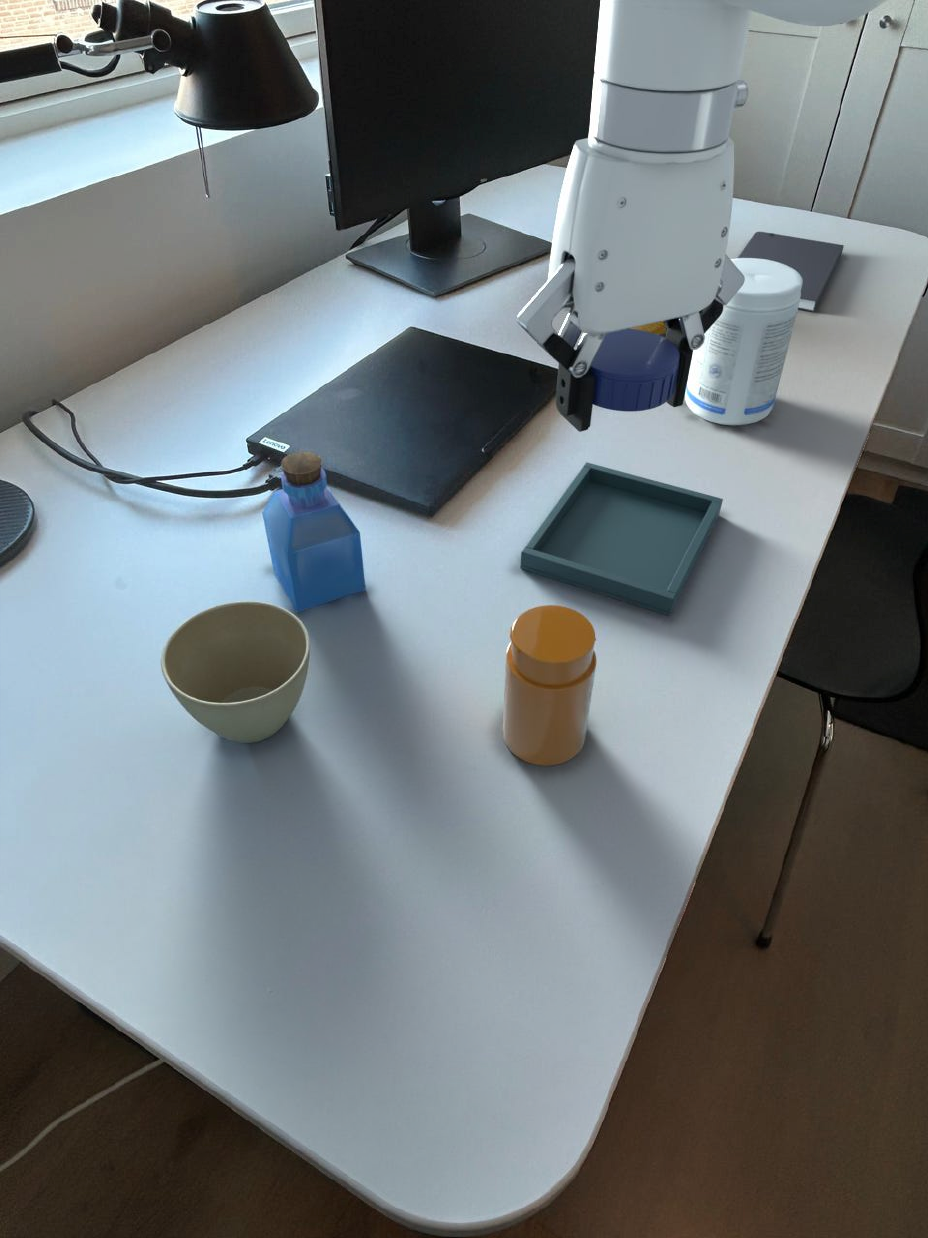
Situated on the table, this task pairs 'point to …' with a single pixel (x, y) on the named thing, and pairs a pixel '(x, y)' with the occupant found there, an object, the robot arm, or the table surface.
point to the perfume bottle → (312, 536)
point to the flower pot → (238, 668)
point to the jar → (548, 684)
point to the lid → (634, 371)
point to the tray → (623, 537)
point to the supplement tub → (746, 346)
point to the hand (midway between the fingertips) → (620, 407)
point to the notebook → (798, 261)
